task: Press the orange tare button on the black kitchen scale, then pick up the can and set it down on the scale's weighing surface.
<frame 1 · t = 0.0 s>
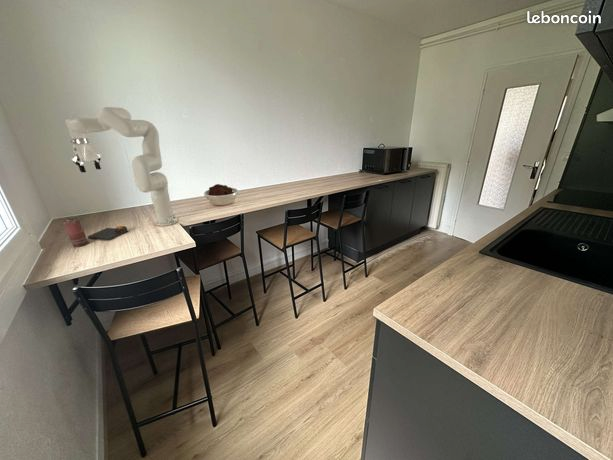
hand: (91, 170, 155), 31 cm above the worktop, tool pointing down, fingers open, 9 cm apart
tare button: (120, 227, 144), point 3 cm above the worktop, slide at 0.1 cm
can: (80, 245, 132), on the worktop
filled cream bowl: (223, 203, 196), on the worktop
scale: (108, 235, 143), on the worktop
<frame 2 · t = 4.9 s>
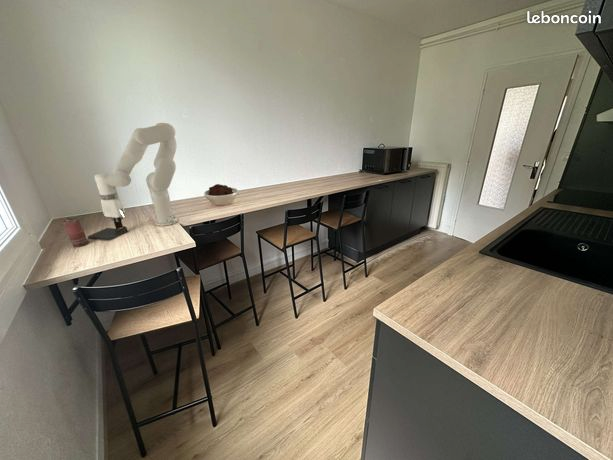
hand: (119, 227, 144), 4 cm above the worktop, tool pointing down, fingers closed
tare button: (120, 228, 144), point 3 cm above the worktop, slide at -0.4 cm, touching gripper
everything else where it was.
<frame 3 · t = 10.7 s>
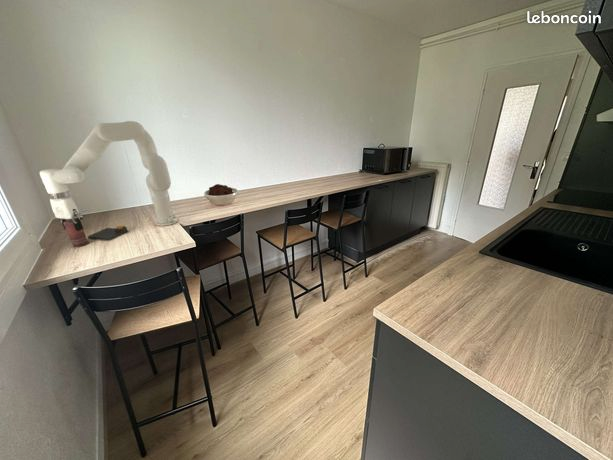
hand: (74, 229, 128), 9 cm above the worktop, tool pointing down, fingers closed on can, 6 cm apart
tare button: (120, 227, 144), point 3 cm above the worktop, slide at 0.1 cm
can: (80, 245, 132), on the worktop, touching gripper
everything else where it was.
when the fingers open (10 cm above the worktop, at t = 17.8 s): can stays where it is, resting on scale.
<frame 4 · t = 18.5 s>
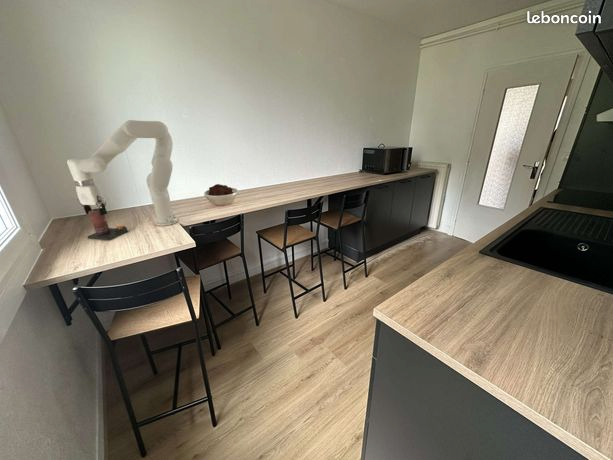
hand: (96, 213, 137), 13 cm above the worktop, tool pointing down, fingers open, 9 cm apart
can: (103, 233, 142), point 1 cm above the worktop, touching scale
everything else where it was.
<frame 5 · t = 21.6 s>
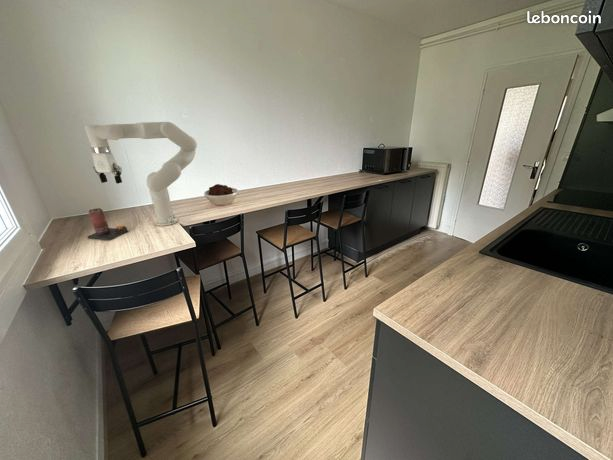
hand: (111, 182, 139), 28 cm above the worktop, tool pointing down, fingers open, 9 cm apart
nothing on the worktop moved.
at the end: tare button pushed in 0.8 cm at the most during the clip, back to where it started at the end; can inside the target area on the scale (0.5 cm from its centre), point 1.2 cm above the scale's base; can touching scale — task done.
